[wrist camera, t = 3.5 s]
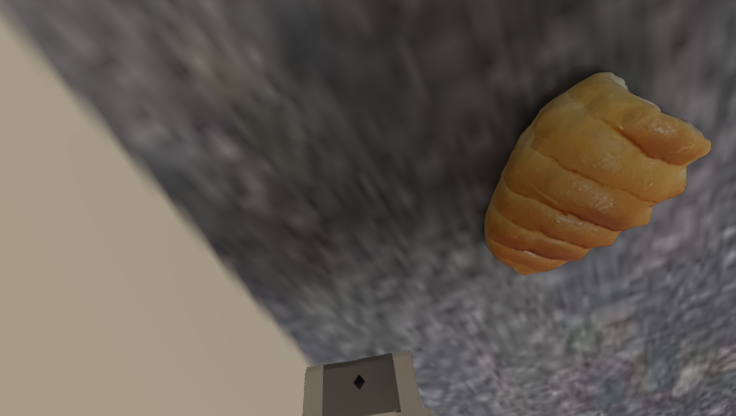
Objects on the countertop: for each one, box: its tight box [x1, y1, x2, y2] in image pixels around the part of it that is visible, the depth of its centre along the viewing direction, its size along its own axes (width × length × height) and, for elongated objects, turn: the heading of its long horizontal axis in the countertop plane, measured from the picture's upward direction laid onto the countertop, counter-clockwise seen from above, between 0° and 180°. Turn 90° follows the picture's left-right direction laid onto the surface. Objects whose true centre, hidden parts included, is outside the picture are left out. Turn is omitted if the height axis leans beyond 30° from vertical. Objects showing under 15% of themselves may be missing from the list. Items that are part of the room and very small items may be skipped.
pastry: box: [484, 72, 711, 275], centre depth 16 cm, size 9×7×4 cm
